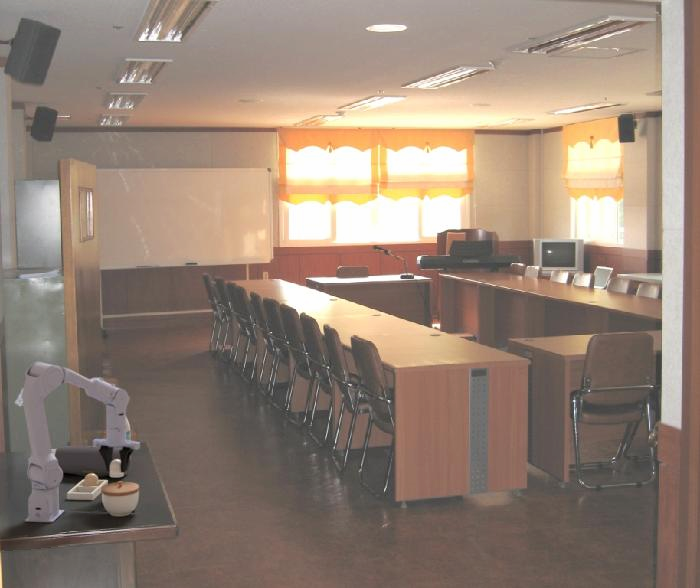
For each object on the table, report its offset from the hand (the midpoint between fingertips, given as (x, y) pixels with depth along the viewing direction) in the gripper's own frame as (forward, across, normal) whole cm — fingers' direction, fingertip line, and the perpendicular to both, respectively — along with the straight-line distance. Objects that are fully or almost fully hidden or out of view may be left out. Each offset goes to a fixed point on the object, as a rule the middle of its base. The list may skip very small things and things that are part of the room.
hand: (116, 470), depth 295 cm
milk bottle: (+8, +18, -38) cm, 43 cm away
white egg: (+1, 0, 0) cm, 1 cm away
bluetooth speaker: (+9, +18, -19) cm, 27 cm away
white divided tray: (+8, +10, -1) cm, 13 cm away
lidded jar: (+9, -8, +13) cm, 17 cm away
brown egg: (+8, +11, -4) cm, 14 cm away
